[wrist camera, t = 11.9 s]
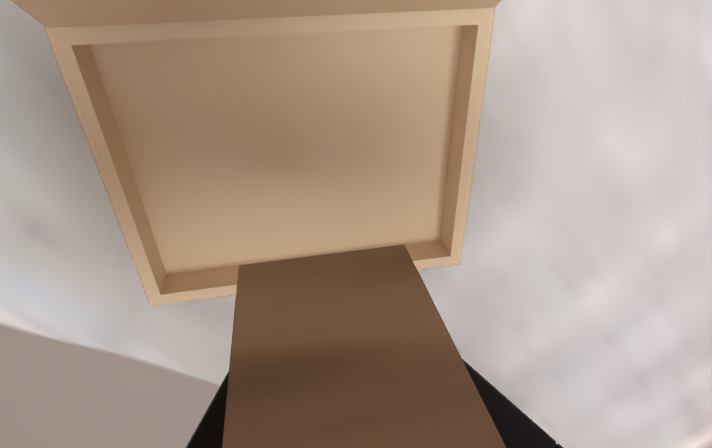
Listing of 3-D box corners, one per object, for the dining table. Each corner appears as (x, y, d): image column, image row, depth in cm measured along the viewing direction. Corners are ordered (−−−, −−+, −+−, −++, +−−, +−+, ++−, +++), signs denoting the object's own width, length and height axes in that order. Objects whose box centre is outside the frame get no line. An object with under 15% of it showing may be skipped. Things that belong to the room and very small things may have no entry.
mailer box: (446, 242, 23) (460, 263, 22) (159, 279, 21) (150, 306, 20) (473, 2, 17) (495, 6, 15) (68, 19, 15) (43, 25, 13)
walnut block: (398, 354, 12) (490, 618, 7) (263, 377, 12) (260, 680, 7) (404, 244, 10) (536, 507, 5) (238, 265, 10) (209, 583, 5)
